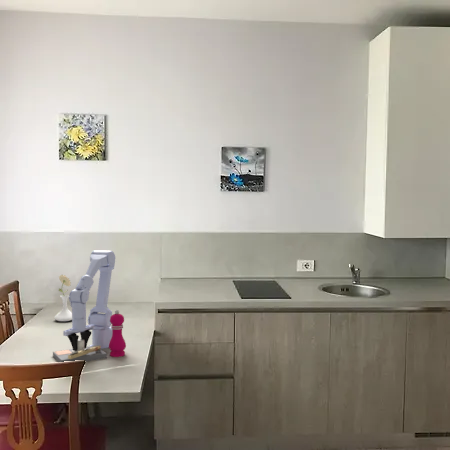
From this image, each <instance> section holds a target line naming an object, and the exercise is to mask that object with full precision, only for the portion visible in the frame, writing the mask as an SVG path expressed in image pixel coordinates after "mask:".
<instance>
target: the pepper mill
mask: <svg viewBox="0 0 450 450" xmlns="http://www.w3.org/2000/svg"><path fill="white" fill-rule="evenodd" d="M110 322H111V326H110V327H111V329H112V331H113V333H112V338H111V340H110V343H109V348H108V349H109V350H110V352H109V355H110V357H112V358H120V357H124V356H125V354H126V351H125V349H126V347H127V345H126V344H127V343H126V340H125V339H124V336H123V329H124V325H123V323H124V322H125V317H124V315H123V314H121V313H120V311H119V310H118V309H116V310H115V311H114V314H113V313H112V316H111V317H110Z"/></svg>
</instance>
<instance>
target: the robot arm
mask: <svg viewBox="0 0 450 450" xmlns="http://www.w3.org/2000/svg"><path fill="white" fill-rule="evenodd" d="M89 262H90V263H89V265H88V268H87V270H86V271H85V272H86V273H85V275H82V276H80V279H79V281H78V282H77V285H76V286H75V288H74V289H72V290H71V291H70V292H69V294H68V295H69V297H68V300H69V303H70V304H69V305H70V308H71V312H72V320H71V328H68V329H65V330H63V331H62V335H63V336H65V337H67V338H68V339H69V342H70V344H71V345H70V346H71V349H73V350H74V351H77V343H78V339H84V349H86V347H90V346H97V345H100V346H101V350H103V349H107V348H108V349H109V343H110V340H111V338H112V333H113V331H112V329H111V325H112V324H111V322H110V317H111V316H112V315H113V311H112V310H111V309H110V308H109V307H108V303H109V295H110V287H111V279H112V272H113V270H114V269H115V264H116V254H115V252H114V251H113V250H96V249H94V250H92V251H91V253H90V256H89ZM98 271H99V278H98V286H97V287H98V288H97V292H96V293H97V295H96V302H95V306H94V307H92V308H91V309H90V310H89V313H88V314H89V315H88V317H87V302H88V301H89V297H90V296H89V295H90V291H91V288H92V286H93V284H94V277H95V276H96V274H97V273H98ZM87 324H88V325H87ZM77 334H79V335H77ZM91 335H92V336H91ZM90 337H91V343H92V344H90V345H89V346H87V345H88V342H89V340H90Z"/></svg>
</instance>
